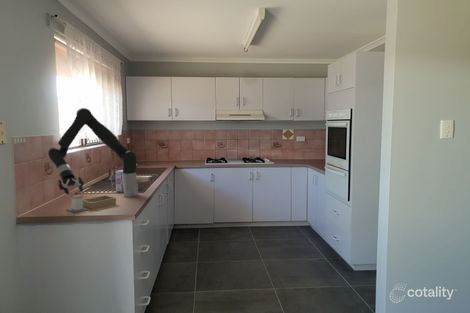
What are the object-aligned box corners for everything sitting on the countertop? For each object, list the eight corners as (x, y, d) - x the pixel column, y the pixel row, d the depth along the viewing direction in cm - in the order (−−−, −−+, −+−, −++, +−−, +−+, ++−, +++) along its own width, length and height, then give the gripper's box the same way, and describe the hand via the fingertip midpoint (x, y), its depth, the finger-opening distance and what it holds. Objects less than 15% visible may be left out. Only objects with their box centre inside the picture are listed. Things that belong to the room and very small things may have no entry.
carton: (102, 200, 232) (102, 194, 232) (119, 205, 218) (119, 198, 218) (78, 205, 220) (78, 198, 219) (94, 211, 206) (94, 203, 205)
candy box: (122, 192, 260) (121, 171, 258) (115, 191, 261) (114, 171, 259) (132, 188, 273) (131, 168, 271) (125, 188, 274) (124, 168, 273)
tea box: (79, 207, 212) (78, 195, 211) (83, 208, 208) (82, 196, 208) (71, 209, 208) (71, 196, 207) (75, 210, 205) (74, 197, 204)
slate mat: (80, 207, 216) (80, 206, 216) (89, 210, 208) (89, 209, 208) (66, 209, 209) (66, 209, 209) (74, 213, 201) (74, 212, 201)
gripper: (55, 170, 208) (64, 190, 202) (78, 167, 218) (87, 187, 212) (52, 178, 212) (61, 198, 206) (75, 175, 222) (84, 194, 216)
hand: (75, 192), depth 209 cm, fingers open, 8 cm apart
